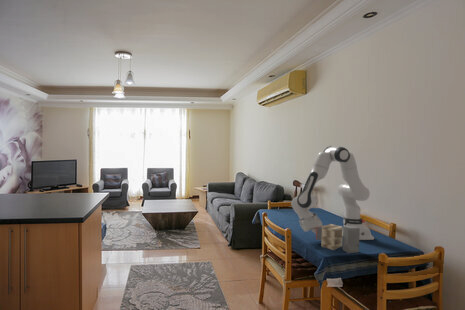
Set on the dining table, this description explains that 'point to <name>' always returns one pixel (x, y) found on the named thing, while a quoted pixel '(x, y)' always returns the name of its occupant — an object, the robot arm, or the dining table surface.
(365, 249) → the dining table surface
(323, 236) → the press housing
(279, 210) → the dining table surface
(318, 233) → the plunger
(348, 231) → the skincare box
